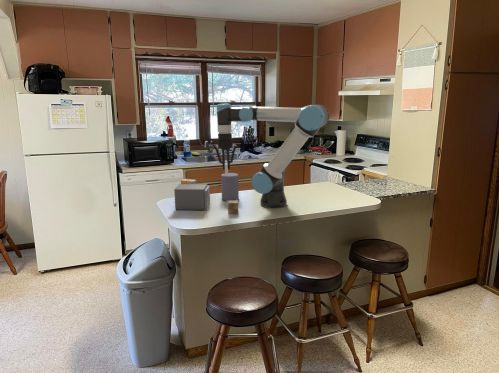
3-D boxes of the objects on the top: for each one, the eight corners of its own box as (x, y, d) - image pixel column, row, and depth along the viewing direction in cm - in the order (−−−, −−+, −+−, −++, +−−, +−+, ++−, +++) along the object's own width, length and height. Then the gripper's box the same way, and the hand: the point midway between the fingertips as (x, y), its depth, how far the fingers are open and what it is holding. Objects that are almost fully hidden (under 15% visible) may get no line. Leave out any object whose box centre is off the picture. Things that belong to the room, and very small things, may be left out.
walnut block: (238, 211, 205) (238, 200, 203) (237, 213, 200) (237, 203, 198) (229, 211, 205) (228, 200, 203) (228, 213, 200) (228, 203, 198)
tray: (210, 204, 217) (209, 185, 215) (207, 210, 206) (206, 190, 203) (183, 203, 218) (182, 185, 215) (179, 210, 206) (178, 190, 204)
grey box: (207, 204, 217) (206, 184, 215) (204, 210, 206) (203, 189, 203) (180, 204, 218) (179, 184, 215) (175, 210, 206) (174, 189, 203)
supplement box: (181, 201, 224) (180, 180, 221) (185, 199, 228) (184, 178, 225) (193, 202, 221) (192, 181, 218) (197, 200, 225) (196, 179, 222)
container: (220, 197, 233) (219, 173, 229) (236, 195, 236) (235, 172, 232) (224, 201, 223) (223, 176, 220) (240, 200, 226) (240, 175, 223)
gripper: (237, 131, 208) (238, 173, 213) (213, 132, 208) (215, 174, 214) (236, 133, 201) (238, 176, 206) (212, 133, 201) (214, 177, 206)
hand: (226, 175), depth 210 cm, fingers closed
